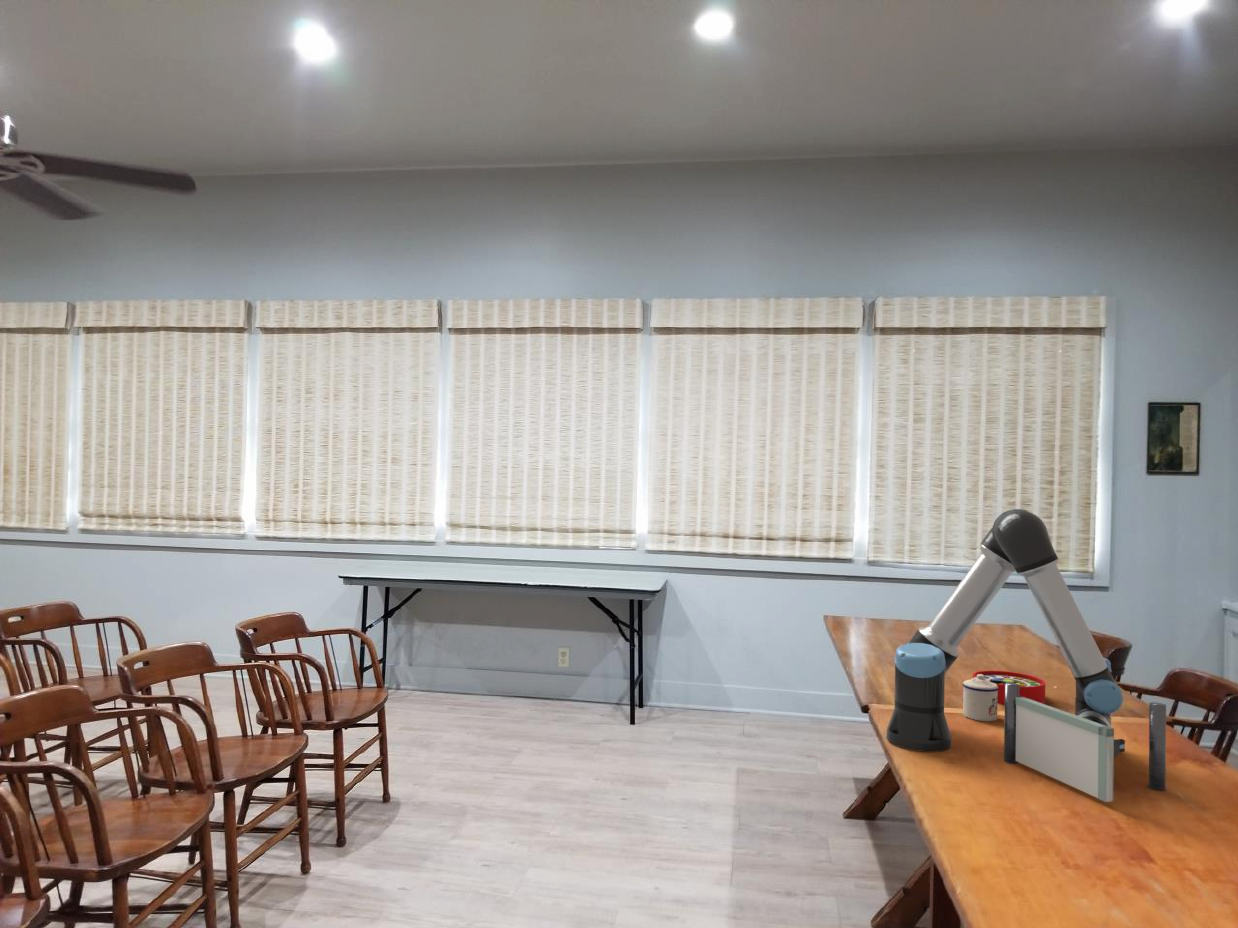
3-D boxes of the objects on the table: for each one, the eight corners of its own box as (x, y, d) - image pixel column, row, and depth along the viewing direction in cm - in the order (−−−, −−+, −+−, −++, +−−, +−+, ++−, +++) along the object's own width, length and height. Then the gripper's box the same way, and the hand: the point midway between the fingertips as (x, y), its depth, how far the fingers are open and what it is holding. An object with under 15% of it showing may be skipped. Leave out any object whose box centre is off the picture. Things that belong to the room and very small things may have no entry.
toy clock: (1040, 674, 249) (1050, 690, 231) (1040, 693, 249) (1050, 710, 230) (970, 667, 256) (974, 682, 238) (970, 686, 256) (974, 702, 237)
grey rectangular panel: (1014, 760, 184) (1015, 697, 184) (1021, 759, 185) (1022, 696, 185) (1105, 801, 161) (1106, 729, 161) (1113, 800, 162) (1113, 728, 162)
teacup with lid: (996, 723, 215) (996, 680, 216) (960, 718, 220) (960, 675, 220) (1000, 713, 226) (1001, 671, 226) (965, 707, 230) (966, 667, 231)
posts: (1003, 761, 186) (1004, 684, 186) (1004, 758, 189) (1005, 681, 189) (1165, 791, 170) (1166, 706, 170) (1165, 787, 172) (1165, 703, 172)
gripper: (1125, 753, 184) (1127, 786, 164) (1060, 742, 191) (1055, 772, 171) (1125, 720, 184) (1128, 749, 164) (1060, 710, 191) (1055, 737, 171)
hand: (1091, 761), depth 167 cm, fingers closed
